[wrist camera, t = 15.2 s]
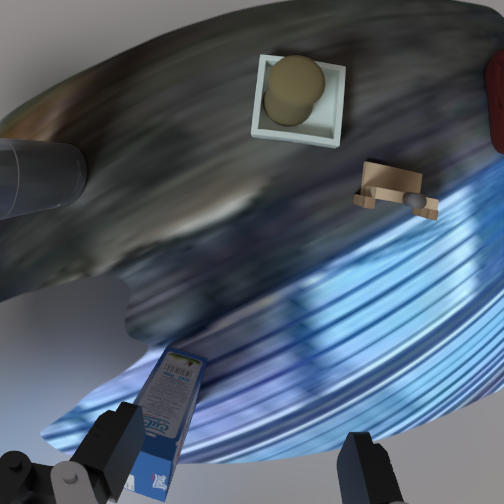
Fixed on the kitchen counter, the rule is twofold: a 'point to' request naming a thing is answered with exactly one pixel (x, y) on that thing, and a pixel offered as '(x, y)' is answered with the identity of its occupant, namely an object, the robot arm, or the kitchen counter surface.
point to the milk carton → (165, 420)
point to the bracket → (395, 189)
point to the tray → (320, 120)
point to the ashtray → (496, 99)
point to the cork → (293, 90)
